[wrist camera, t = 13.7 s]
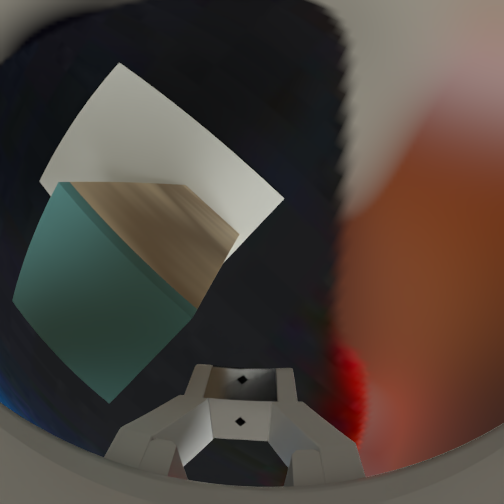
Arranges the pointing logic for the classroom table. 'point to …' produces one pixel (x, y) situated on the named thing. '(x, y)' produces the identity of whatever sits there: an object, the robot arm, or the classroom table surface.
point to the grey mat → (157, 152)
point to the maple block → (118, 274)
